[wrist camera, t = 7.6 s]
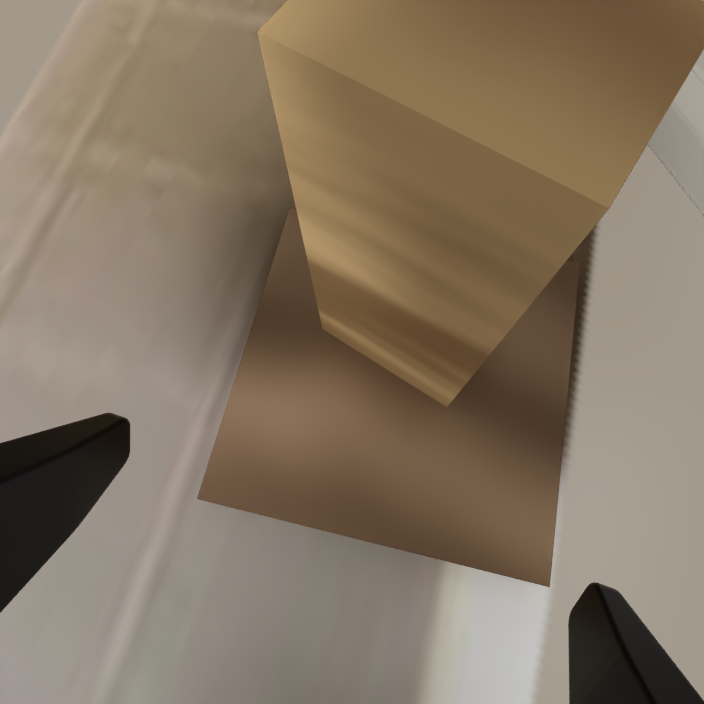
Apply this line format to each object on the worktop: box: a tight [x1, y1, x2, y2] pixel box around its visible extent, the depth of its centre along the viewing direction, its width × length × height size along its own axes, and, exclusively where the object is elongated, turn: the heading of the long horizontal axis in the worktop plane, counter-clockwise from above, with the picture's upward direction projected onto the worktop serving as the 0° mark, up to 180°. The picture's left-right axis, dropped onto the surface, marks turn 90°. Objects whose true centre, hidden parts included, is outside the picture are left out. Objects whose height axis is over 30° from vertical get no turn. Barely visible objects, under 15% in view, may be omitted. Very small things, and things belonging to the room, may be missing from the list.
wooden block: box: [257, 0, 704, 407], centre depth 13 cm, size 4×6×12 cm
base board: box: [197, 208, 580, 587], centre depth 18 cm, size 12×12×1 cm
